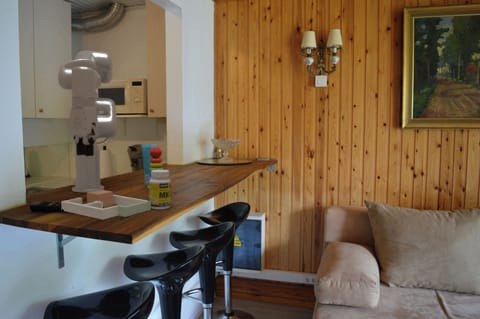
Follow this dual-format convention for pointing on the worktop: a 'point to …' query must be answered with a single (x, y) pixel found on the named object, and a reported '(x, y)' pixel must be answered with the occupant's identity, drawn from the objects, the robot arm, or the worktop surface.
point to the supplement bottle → (160, 189)
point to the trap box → (97, 211)
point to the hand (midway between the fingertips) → (85, 155)
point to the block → (100, 197)
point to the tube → (147, 160)
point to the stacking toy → (155, 161)
